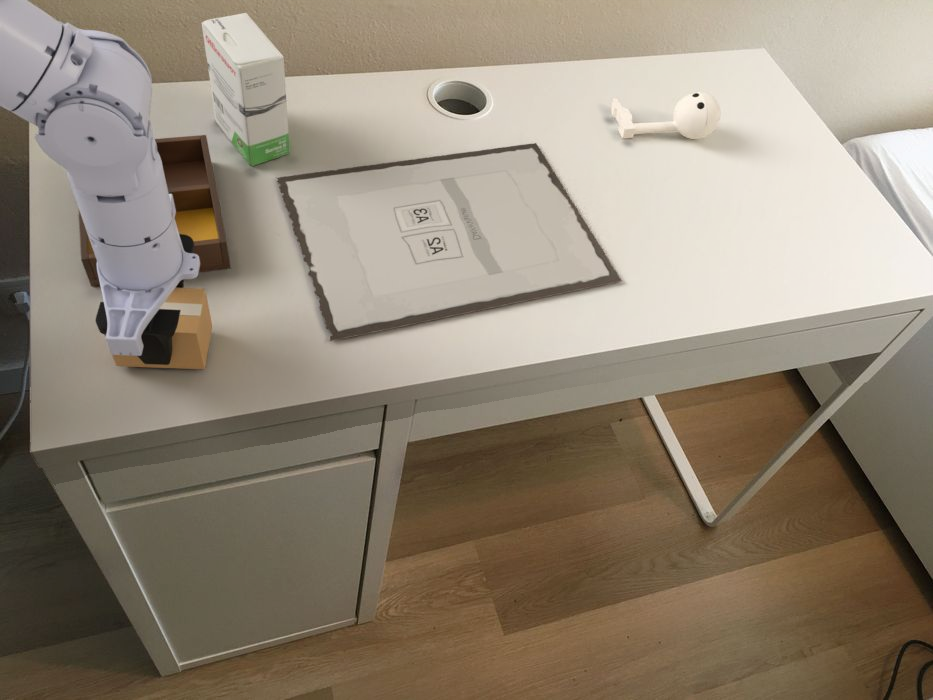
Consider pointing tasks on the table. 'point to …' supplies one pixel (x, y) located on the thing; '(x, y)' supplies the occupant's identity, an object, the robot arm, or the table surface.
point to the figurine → (675, 118)
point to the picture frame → (439, 237)
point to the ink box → (247, 87)
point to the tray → (184, 204)
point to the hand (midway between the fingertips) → (162, 335)
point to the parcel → (183, 332)
